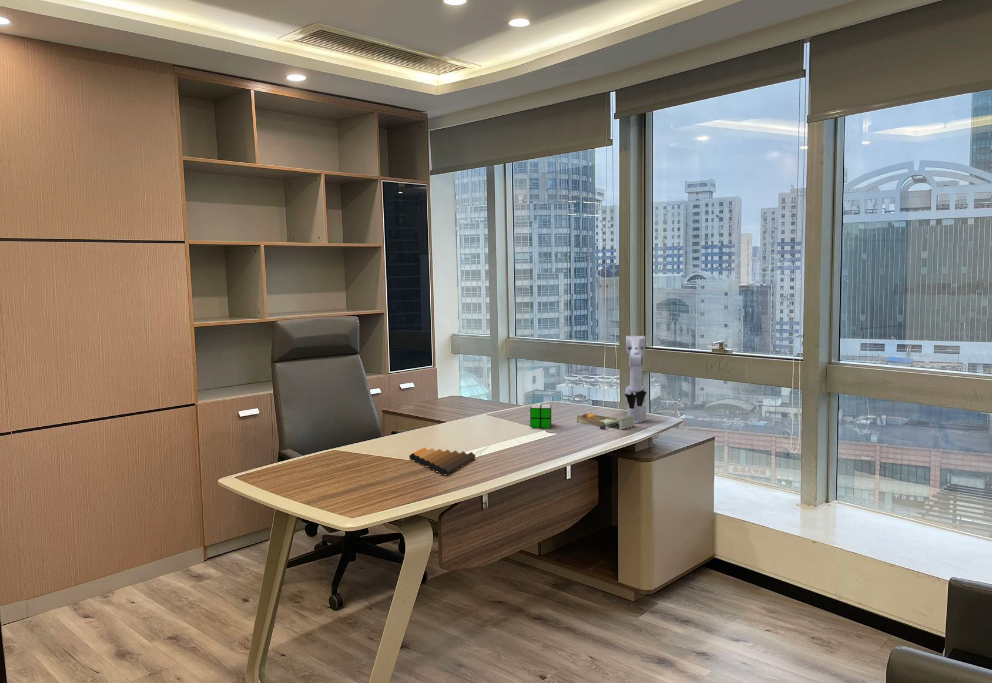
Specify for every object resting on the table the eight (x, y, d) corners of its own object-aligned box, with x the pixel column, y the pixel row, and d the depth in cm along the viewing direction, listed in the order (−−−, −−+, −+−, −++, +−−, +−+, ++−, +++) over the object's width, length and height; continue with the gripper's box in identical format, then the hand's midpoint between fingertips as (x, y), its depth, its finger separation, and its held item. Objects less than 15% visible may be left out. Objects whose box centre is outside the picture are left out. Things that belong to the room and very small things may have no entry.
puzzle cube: (551, 424, 350) (551, 404, 349) (550, 428, 340) (550, 408, 339) (531, 423, 351) (531, 404, 350) (530, 428, 341) (530, 407, 340)
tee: (601, 427, 340) (601, 424, 340) (606, 428, 338) (606, 425, 338) (598, 428, 338) (598, 425, 338) (603, 429, 336) (603, 426, 336)
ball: (589, 414, 357) (595, 411, 354) (592, 421, 356) (598, 419, 354) (584, 415, 354) (590, 413, 351) (587, 423, 353) (593, 420, 351)
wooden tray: (590, 418, 361) (590, 412, 361) (616, 423, 350) (616, 416, 350) (577, 422, 353) (577, 415, 353) (603, 426, 342) (603, 419, 342)
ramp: (607, 421, 353) (607, 410, 353) (633, 426, 343) (634, 415, 342) (595, 425, 346) (595, 413, 346) (622, 429, 335) (622, 418, 335)
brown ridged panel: (447, 477, 261) (475, 460, 284) (447, 468, 261) (475, 452, 284) (389, 470, 271) (421, 454, 294) (389, 461, 271) (420, 446, 294)
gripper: (636, 376, 346) (635, 404, 347) (620, 380, 335) (620, 408, 336) (649, 378, 342) (648, 405, 343) (634, 381, 331) (633, 410, 332)
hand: (635, 407), depth 339 cm, fingers open, 7 cm apart
